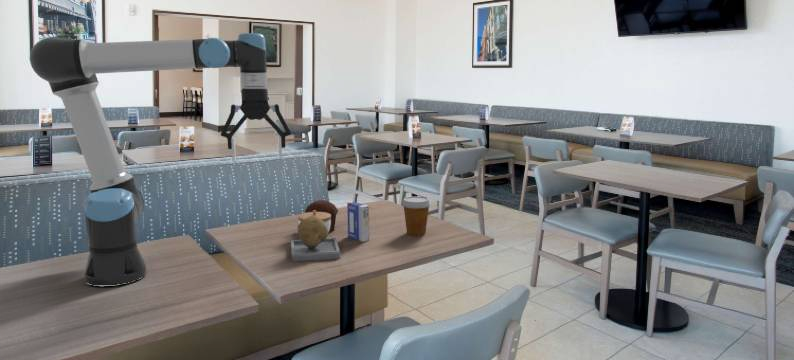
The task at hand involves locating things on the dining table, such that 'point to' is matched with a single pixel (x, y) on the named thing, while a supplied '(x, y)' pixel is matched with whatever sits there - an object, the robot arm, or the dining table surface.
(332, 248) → the slate square tray
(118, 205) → the robot arm
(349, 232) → the walkman
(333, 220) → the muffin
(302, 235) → the natural sponge
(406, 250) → the dining table surface
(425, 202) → the disposable coffee cup
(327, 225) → the lidded jar
